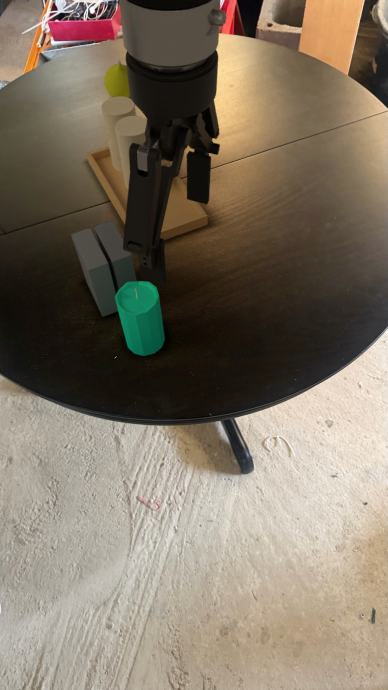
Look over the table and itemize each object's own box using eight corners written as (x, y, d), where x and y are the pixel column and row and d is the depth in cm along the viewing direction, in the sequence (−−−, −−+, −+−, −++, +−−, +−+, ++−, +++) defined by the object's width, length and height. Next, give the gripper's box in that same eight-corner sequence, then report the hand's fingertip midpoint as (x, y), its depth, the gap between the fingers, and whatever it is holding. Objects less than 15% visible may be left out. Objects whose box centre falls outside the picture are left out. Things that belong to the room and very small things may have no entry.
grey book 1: (86, 282, 80) (70, 234, 70) (103, 276, 80) (90, 227, 71) (102, 317, 75) (88, 270, 66) (120, 310, 76) (108, 263, 67)
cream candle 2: (120, 178, 93) (110, 121, 83) (148, 169, 94) (141, 112, 84) (131, 196, 90) (122, 139, 80) (160, 187, 91) (154, 129, 81)
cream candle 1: (108, 159, 97) (96, 101, 87) (135, 150, 98) (127, 93, 88) (118, 175, 94) (108, 118, 84) (146, 166, 95) (139, 109, 85)
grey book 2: (106, 275, 80) (93, 226, 71) (123, 269, 81) (112, 220, 72) (123, 309, 76) (112, 261, 67) (141, 302, 77) (131, 254, 68)
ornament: (126, 109, 107) (119, 63, 99) (101, 101, 109) (92, 55, 101) (143, 93, 111) (138, 48, 102) (118, 86, 113) (111, 40, 104)
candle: (172, 333, 73) (166, 282, 63) (151, 362, 71) (141, 313, 61) (140, 317, 75) (129, 266, 65) (118, 345, 72) (103, 295, 62)
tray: (88, 162, 97) (86, 153, 95) (149, 143, 100) (148, 134, 98) (138, 249, 83) (137, 240, 82) (207, 224, 86) (207, 215, 85)
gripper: (151, 153, 31) (164, 329, 49) (262, -11, 43) (240, 179, 61) (50, 127, 32) (100, 307, 51) (186, -25, 45) (186, 164, 63)
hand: (177, 237), depth 56 cm, fingers open, 13 cm apart
